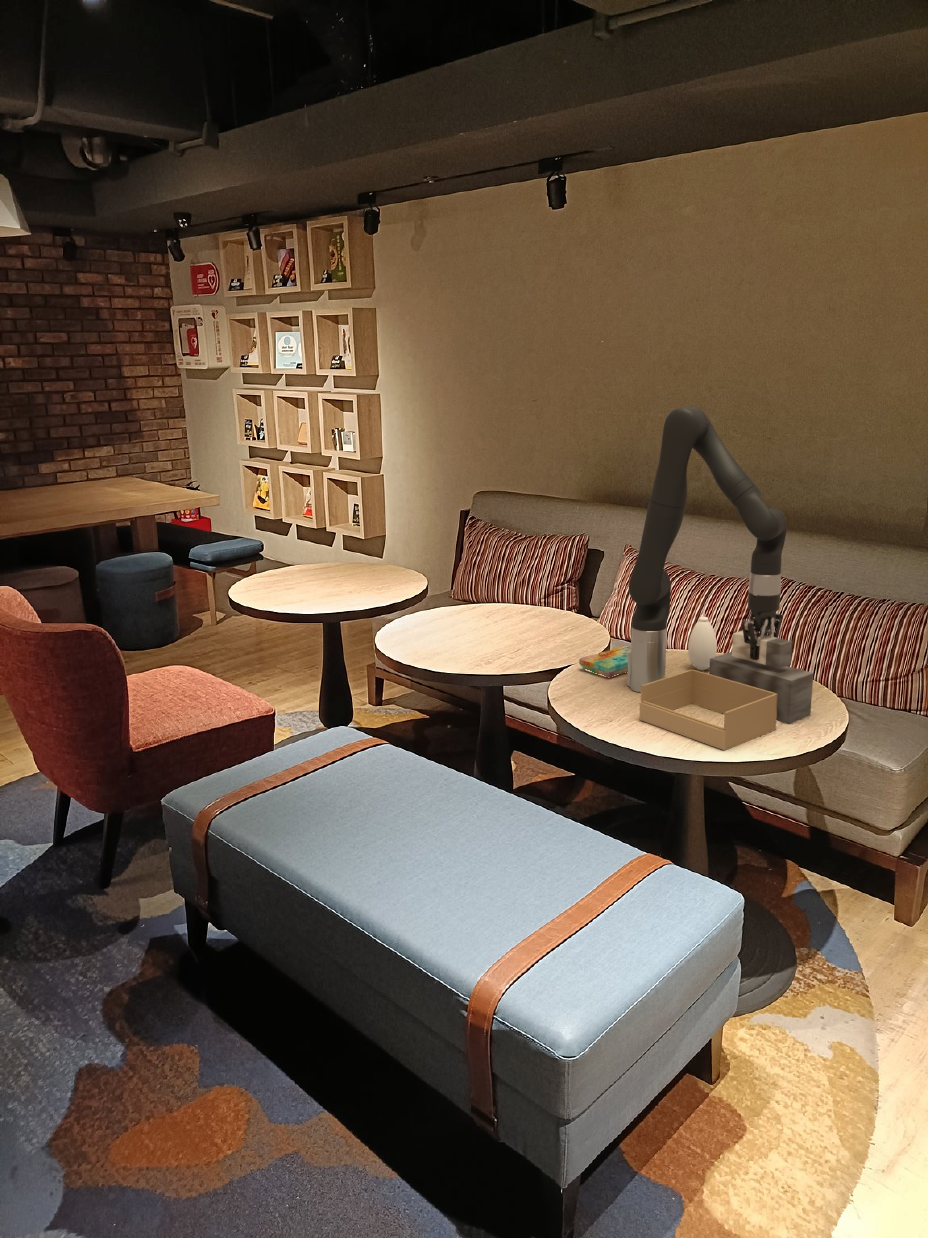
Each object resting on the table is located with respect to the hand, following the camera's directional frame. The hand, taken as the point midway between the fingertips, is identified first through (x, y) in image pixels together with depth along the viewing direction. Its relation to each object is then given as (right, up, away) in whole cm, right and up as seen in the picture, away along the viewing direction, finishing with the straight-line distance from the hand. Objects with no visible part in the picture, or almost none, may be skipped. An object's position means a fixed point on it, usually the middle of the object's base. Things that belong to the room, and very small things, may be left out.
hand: (760, 657), depth 231 cm
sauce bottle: (-6, -5, +34) cm, 35 cm away
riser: (0, -13, +3) cm, 13 cm away
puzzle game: (-29, -5, +37) cm, 48 cm away
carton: (-15, -16, -8) cm, 24 cm away
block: (0, -1, 0) cm, 1 cm away
